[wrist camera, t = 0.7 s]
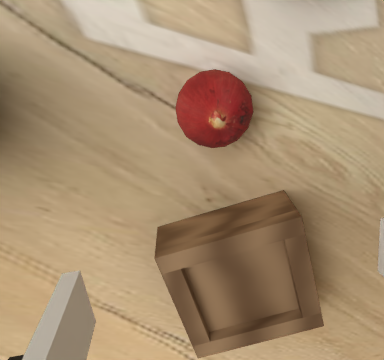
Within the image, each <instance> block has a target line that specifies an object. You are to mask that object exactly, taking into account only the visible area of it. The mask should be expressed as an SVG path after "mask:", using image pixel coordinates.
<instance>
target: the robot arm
mask: <svg viewBox="0 0 384 360" xmlns="http://www.w3.org/2000/svg"><path fill="white" fill-rule="evenodd" d="M378 272H379V273H380V274H381V275H382V276H383V277H384V218H380V236H379V255H378ZM95 323H96V320H95V317H94V314H93V311H92V307H91V304H90V301H89V298H88V295H87V291H86V288H85V285H84V282H83V278H82V275H81V272H80V271H74V272H68V273H62V275H61V277H60V279H59V281H58V283H57V285H56V288H55V290H54V292H53V294H52V296H51V298H50V300H49V303H48V305H47V307H46V309H45V311H44V313H43V316H42V318H41V320H40V322H39V324H38V326H37V328H36V331H35V333H34V335H33V337H32V339H31V341H30V344H29V346H28V348H27V350H26V352H25V354H24V355H20V356H15V357H10V358H9V359H8V360H86V359H87V355H88V351H89V347H90V343H91V339H92V335H93V331H94V327H95Z"/></svg>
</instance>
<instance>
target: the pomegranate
mask: <svg viewBox="0 0 384 360" xmlns="http://www.w3.org/2000/svg"><path fill="white" fill-rule="evenodd" d="M176 114H177V120H178V123H179V125H180V127H181V129H182V130H183V132H184V133H185V135H186V137H188V138H189V139H191V140H192V141H194V142H195V143H197V144H198V145H202V146H206V147H210V148H216V147H225V146H227V145H229V144H231V143H233V142H235V141H237V140H238V139H239V138H240V137H241V136H242V134H243V133H244V132H245V131H246V130H247V129H248V127H249V124H250V121H251V117H252V114H253V106H252V99H251V95H250V93H249V91H248V90H247V88H246V87H245V85H244V84H243V82H242V81H241V80H239V79H238V78H237V77H235V76H234V75H232V74H231V73H230V72H225V71H220V70H216V69H214V70H209V71H203V72H199V73H198V74H196V75H195V76H193V77H192V78H190V79H189V80H187V82H186V83H185V85H184V86H183V88H182V89H181V91H180V92H179V95H178V99H177V104H176Z"/></svg>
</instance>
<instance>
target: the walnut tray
mask: <svg viewBox="0 0 384 360" xmlns="http://www.w3.org/2000/svg"><path fill="white" fill-rule="evenodd" d="M155 261H156V263H157V265H158V267H159V270H160V272H161V274H162V277H163V279H164V281H165V284H166V286H167V288H168V291H169V293H170V295H171V297H172V300H173V302H174V304H175V307H176V309H177V311H178V314H179V316H180V318H181V320H182V323H183V325H184V327H185V330H186V332H187V334H188V337H189V339H190V341H191V343H192V346H193V348H194V350H195V353H196V355H197V357H198V358H201V357H205V356H209V355H213V354H217V353H221V352H225V351H229V350H233V349H236V348H240V347H244V346H248V345H252V344H256V343H260V342H264V341H268V340H272V339H275V338H279V337H283V336H287V335H291V334H295V333H299V332H303V331H307V330H310V329H314V328H318V327H322V326H324V324H323V319H322V314H321V309H320V304H319V299H318V294H317V289H316V284H315V280H314V275H313V270H312V265H311V260H310V255H309V250H308V245H307V240H306V235H305V231H304V226H303V221H302V216H301V215H300V214H299V212H298V211H297V209H296V208H295V206H294V205H293V203H292V202H291V200H290V199H289V197H288V196H287V195H286V193H285V192H284V190H283V191H279V192H276V193H273V194H269V195H266V196H262V197H259V198H255V199H252V200H249V201H245V202H242V203H238V204H235V205H232V206H228V207H225V208H221V209H218V210H214V211H211V212H208V213H204V214H201V215H197V216H194V217H191V218H187V219H184V220H180V221H177V222H173V223H170V224H167V225H163V226H160V227H158V229H157V239H156V250H155Z"/></svg>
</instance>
